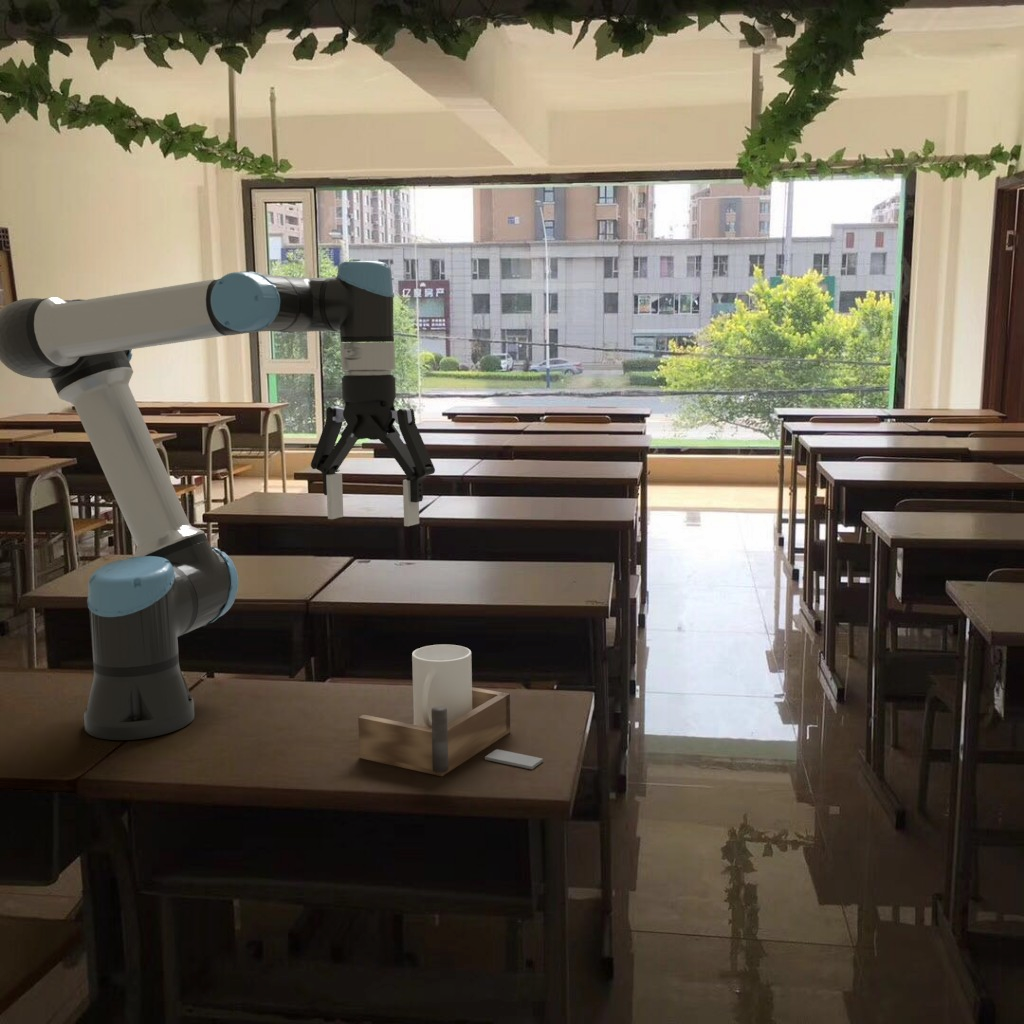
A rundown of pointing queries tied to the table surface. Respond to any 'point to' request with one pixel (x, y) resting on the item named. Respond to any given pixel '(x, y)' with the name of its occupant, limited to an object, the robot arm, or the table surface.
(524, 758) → the grey rectangular slab
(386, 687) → the table surface
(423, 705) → the mug
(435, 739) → the keeper cradle
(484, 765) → the table surface
